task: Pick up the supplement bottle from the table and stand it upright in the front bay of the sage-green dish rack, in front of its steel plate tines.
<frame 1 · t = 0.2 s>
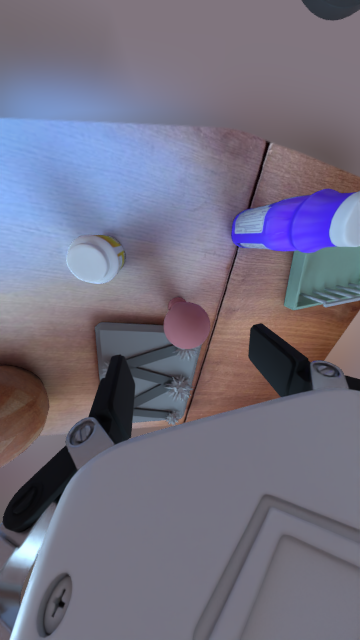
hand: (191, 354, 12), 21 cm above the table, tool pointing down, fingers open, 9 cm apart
light bulb: (177, 304, 32), on the table
supplement bottle: (108, 254, 26), on the table
decorative plate: (149, 375, 39), on the table
dish rack: (328, 267, 34), on the table
jug: (14, 385, 34), on the table
bottle: (247, 229, 28), on the table
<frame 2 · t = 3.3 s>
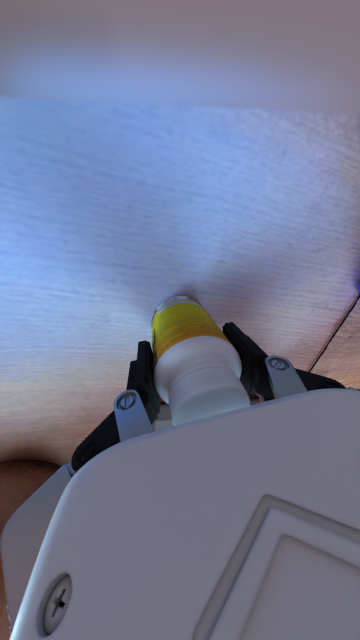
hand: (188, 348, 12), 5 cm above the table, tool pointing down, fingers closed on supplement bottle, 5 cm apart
supplement bottle: (178, 318, 17), on the table, touching gripper
decorative plate: (201, 448, 30), on the table
jug: (28, 477, 25), on the table
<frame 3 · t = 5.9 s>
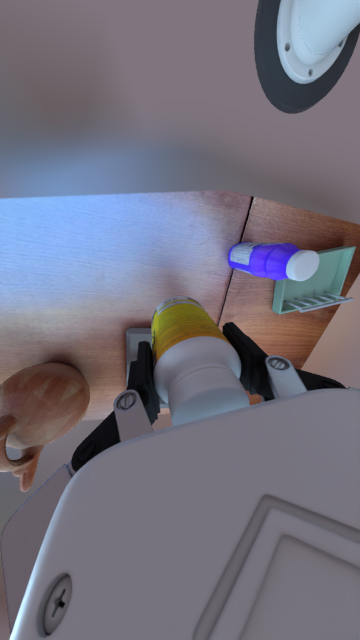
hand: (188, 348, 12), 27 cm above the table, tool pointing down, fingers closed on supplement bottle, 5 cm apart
supplement bottle: (177, 319, 17), point 22 cm above the table, touching gripper
decorative plate: (164, 369, 49), on the table
dish rack: (305, 280, 43), on the table
jug: (60, 378, 43), on the table
bottle: (240, 255, 37), on the table
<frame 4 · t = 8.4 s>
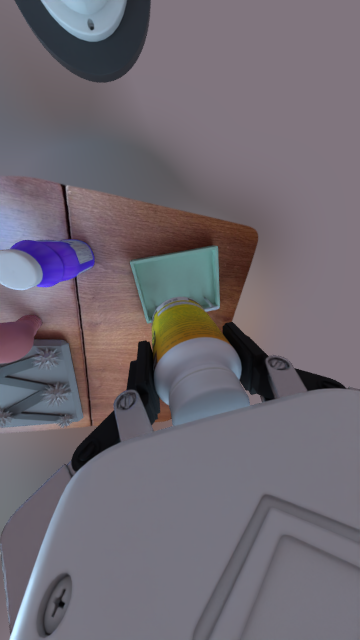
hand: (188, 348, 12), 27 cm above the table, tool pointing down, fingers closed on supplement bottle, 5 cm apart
light bulb: (36, 320, 36), on the table
supplement bottle: (178, 319, 17), point 22 cm above the table, touching gripper
decorative plate: (34, 382, 43), on the table
dish rack: (177, 284, 38), on the table
bottle: (77, 255, 32), on the table
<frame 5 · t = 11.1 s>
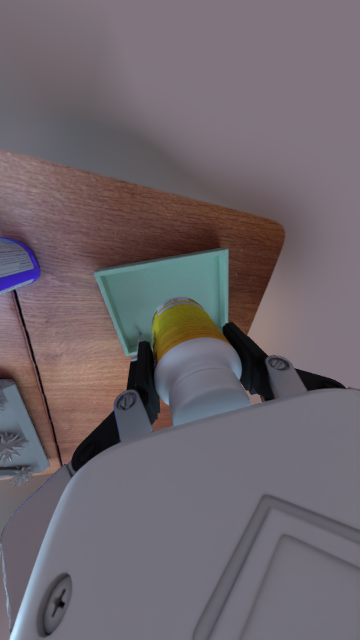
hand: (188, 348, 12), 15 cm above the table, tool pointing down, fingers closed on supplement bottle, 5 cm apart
supplement bottle: (178, 319, 17), point 10 cm above the table, touching gripper
dish rack: (169, 301, 27), on the table
bottle: (14, 261, 21), on the table
when the fingers open (6 cm above the table, at t = 13.7 s): supplement bottle stays where it is, resting on dish rack.
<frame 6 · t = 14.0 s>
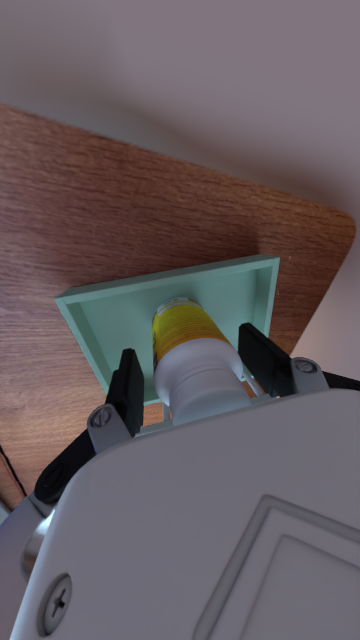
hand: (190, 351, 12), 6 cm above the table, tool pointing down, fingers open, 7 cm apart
supplement bottle: (178, 320, 17), point 1 cm above the table, touching dish rack
dish rack: (180, 332, 18), on the table
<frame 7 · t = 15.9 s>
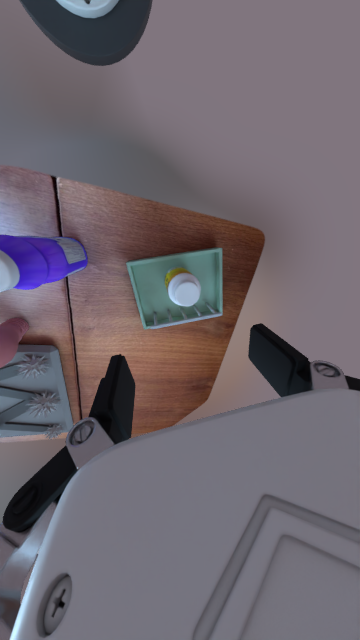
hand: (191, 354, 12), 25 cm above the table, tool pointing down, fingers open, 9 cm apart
light bulb: (22, 324, 33), on the table
supplement bottle: (177, 279, 34), point 1 cm above the table, touching dish rack
decorative plate: (21, 390, 40), on the table
dish rack: (178, 288, 35), on the table
bottle: (69, 254, 29), on the table
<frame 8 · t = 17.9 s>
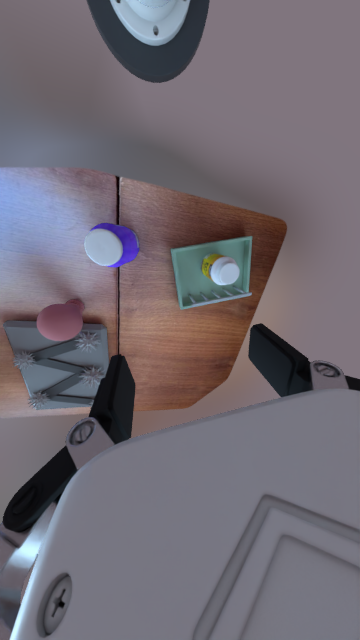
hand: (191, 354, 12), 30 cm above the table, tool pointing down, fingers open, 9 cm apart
light bulb: (78, 305, 38), on the table
supplement bottle: (210, 265, 39), point 1 cm above the table, touching dish rack
decorative plate: (69, 366, 46), on the table
dish rack: (210, 273, 40), on the table
bottle: (122, 243, 34), on the table
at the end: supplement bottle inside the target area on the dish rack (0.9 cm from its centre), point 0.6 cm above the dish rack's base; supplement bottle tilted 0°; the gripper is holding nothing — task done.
